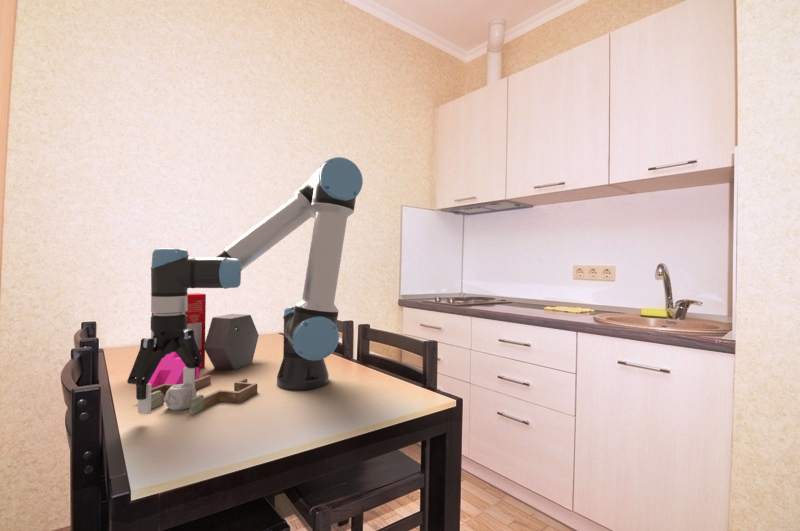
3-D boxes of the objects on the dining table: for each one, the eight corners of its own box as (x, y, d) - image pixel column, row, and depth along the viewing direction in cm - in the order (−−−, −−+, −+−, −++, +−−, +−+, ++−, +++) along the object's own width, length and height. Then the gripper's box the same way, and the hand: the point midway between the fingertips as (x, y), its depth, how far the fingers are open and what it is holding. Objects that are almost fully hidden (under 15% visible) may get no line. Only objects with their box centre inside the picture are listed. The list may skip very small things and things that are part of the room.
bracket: (167, 379, 123) (167, 345, 123) (198, 381, 122) (199, 347, 122) (137, 391, 111) (138, 354, 111) (172, 393, 110) (173, 355, 110)
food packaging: (196, 365, 140) (197, 293, 140) (204, 367, 137) (205, 294, 137) (150, 374, 128) (151, 295, 128) (158, 377, 125) (159, 296, 125)
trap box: (264, 388, 115) (264, 376, 115) (213, 416, 94) (214, 401, 94) (191, 382, 120) (191, 370, 120) (127, 407, 99) (127, 393, 99)
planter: (245, 344, 153) (226, 301, 142) (263, 345, 151) (245, 302, 140) (219, 379, 139) (197, 334, 128) (239, 381, 138) (218, 336, 126)
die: (182, 411, 97) (182, 390, 97) (164, 409, 98) (164, 388, 98) (196, 404, 102) (197, 384, 102) (179, 402, 103) (179, 382, 103)
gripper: (192, 307, 109) (191, 385, 109) (108, 319, 84) (106, 421, 85) (217, 308, 107) (216, 388, 107) (138, 321, 83) (137, 424, 83)
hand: (168, 402), depth 96 cm, fingers open, 13 cm apart
